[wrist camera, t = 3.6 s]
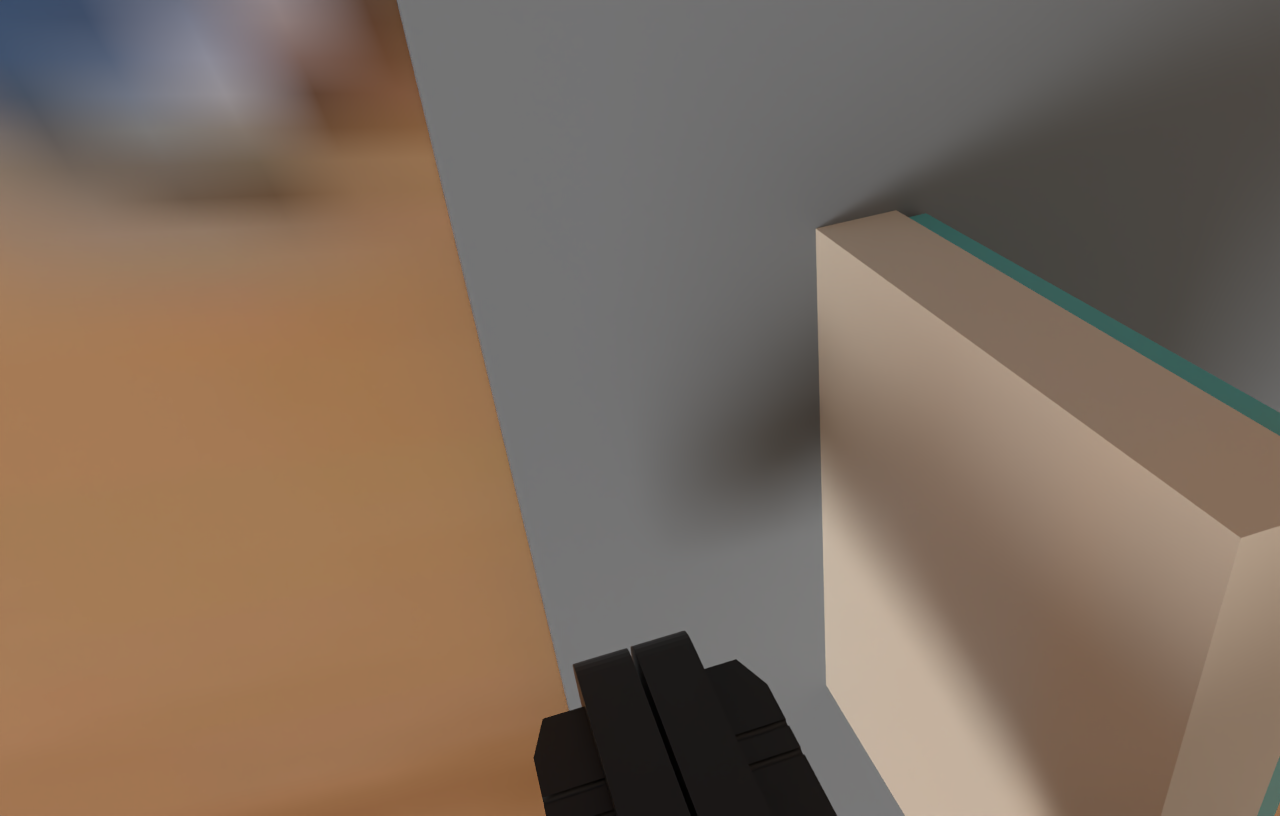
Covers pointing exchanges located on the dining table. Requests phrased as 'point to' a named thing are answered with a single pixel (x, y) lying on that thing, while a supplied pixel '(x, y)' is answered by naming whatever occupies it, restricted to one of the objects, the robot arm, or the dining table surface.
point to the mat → (807, 261)
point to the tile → (1039, 543)
